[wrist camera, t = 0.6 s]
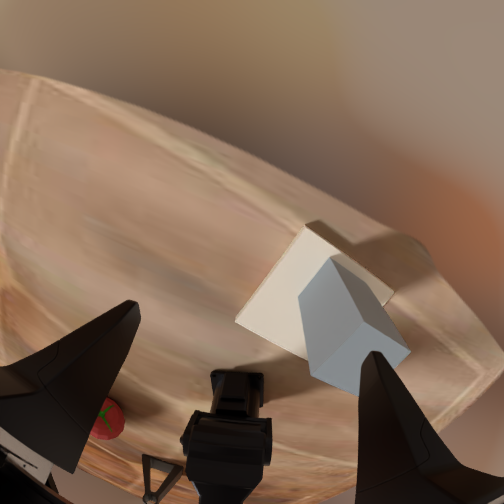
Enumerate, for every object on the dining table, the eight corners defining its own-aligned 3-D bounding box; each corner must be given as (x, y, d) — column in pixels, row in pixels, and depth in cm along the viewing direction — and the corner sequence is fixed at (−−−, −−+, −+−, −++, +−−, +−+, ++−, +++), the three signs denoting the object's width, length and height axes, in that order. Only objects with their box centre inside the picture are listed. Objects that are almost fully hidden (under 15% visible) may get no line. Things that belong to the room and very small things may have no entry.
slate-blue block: (335, 319, 27) (361, 397, 17) (297, 296, 27) (310, 375, 16) (366, 283, 26) (411, 351, 15) (329, 256, 25) (364, 321, 15)
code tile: (322, 363, 31) (323, 368, 30) (235, 316, 29) (234, 321, 28) (391, 288, 27) (394, 292, 26) (304, 224, 25) (305, 227, 24)
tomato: (91, 448, 30) (91, 440, 27) (72, 408, 34) (69, 394, 30) (131, 435, 36) (136, 425, 32) (110, 398, 40) (113, 382, 36)
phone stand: (143, 463, 45) (128, 503, 33) (142, 453, 43) (126, 496, 31) (181, 475, 45) (170, 517, 33) (183, 466, 43) (171, 512, 32)
